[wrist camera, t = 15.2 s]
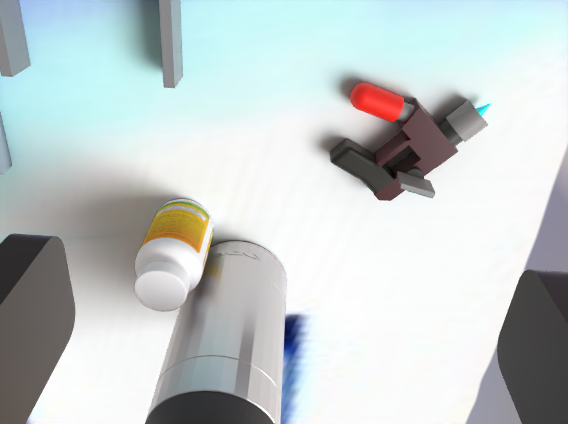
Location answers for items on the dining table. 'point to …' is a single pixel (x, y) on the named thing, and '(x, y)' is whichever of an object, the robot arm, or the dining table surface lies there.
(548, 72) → the dining table surface
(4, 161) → the tray
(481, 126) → the toy gun
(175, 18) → the cradle
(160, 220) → the supplement bottle
